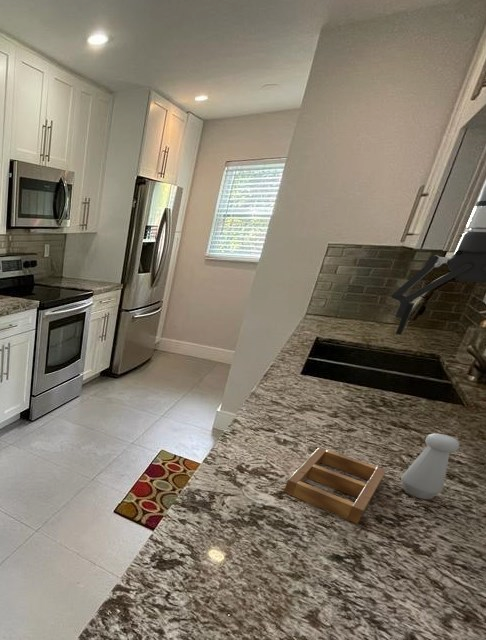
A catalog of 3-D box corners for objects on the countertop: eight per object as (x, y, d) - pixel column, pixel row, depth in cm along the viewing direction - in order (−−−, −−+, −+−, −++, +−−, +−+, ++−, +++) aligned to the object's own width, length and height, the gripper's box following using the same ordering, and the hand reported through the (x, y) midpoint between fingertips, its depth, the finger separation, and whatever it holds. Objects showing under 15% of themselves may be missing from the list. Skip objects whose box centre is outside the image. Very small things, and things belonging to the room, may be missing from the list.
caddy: (381, 481, 86) (386, 469, 85) (357, 524, 74) (363, 510, 73) (315, 457, 95) (319, 446, 94) (283, 492, 82) (287, 479, 81)
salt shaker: (429, 505, 79) (459, 447, 75) (391, 488, 84) (418, 432, 80) (442, 497, 82) (473, 440, 77) (405, 481, 87) (431, 427, 82)
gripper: (399, 228, 83) (361, 330, 91) (612, 234, 65) (542, 359, 73) (405, 229, 88) (368, 325, 96) (606, 234, 70) (540, 352, 78)
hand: (443, 340), depth 84 cm, fingers open, 13 cm apart
